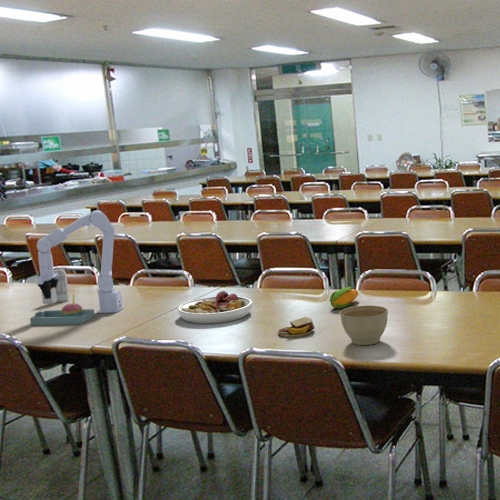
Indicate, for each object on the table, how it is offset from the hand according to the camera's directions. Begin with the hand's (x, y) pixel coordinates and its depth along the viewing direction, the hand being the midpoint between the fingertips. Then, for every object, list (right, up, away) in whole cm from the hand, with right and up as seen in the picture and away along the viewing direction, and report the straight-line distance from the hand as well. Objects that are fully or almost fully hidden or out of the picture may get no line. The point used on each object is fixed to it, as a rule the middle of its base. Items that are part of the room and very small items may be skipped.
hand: (50, 297), depth 335 cm
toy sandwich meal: (+103, -10, -51) cm, 115 cm away
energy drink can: (-3, -4, +35) cm, 35 cm away
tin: (0, -2, +1) cm, 2 cm away
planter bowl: (+125, -11, -70) cm, 144 cm away
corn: (+125, -3, -16) cm, 126 cm away
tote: (+7, -10, -5) cm, 12 cm away
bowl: (+72, -7, -17) cm, 74 cm away
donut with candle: (+11, -10, -6) cm, 16 cm away
